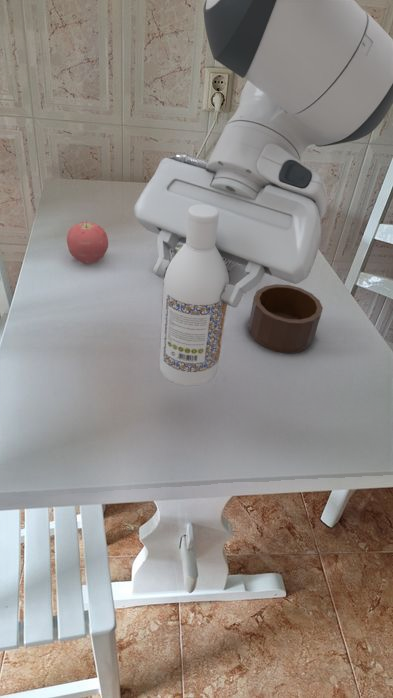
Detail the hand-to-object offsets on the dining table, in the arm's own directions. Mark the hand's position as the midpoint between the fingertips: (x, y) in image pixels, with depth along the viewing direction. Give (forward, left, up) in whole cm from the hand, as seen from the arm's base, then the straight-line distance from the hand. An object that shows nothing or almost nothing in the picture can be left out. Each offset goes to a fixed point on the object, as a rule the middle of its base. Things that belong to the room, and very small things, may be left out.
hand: (193, 290), depth 51 cm
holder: (-17, -21, -20) cm, 34 cm away
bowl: (-5, -40, -21) cm, 45 cm away
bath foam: (0, -1, -12) cm, 12 cm away
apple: (+17, -41, -21) cm, 49 cm away
